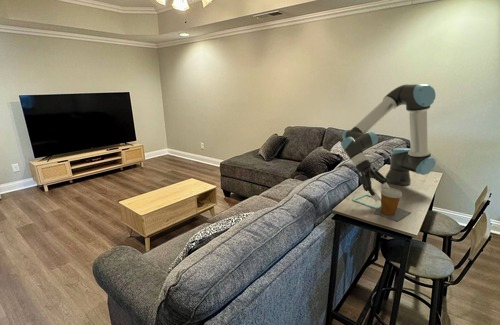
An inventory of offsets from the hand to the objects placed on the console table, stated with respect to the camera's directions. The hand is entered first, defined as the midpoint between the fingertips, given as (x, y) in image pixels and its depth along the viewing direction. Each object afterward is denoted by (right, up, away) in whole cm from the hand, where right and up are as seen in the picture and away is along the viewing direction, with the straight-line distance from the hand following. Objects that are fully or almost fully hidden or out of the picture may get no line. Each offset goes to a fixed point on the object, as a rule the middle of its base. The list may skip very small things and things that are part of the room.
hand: (384, 197), depth 136 cm
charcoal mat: (+3, -8, -1) cm, 8 cm away
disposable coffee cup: (0, -8, -3) cm, 8 cm away
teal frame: (-2, -4, +12) cm, 13 cm away
